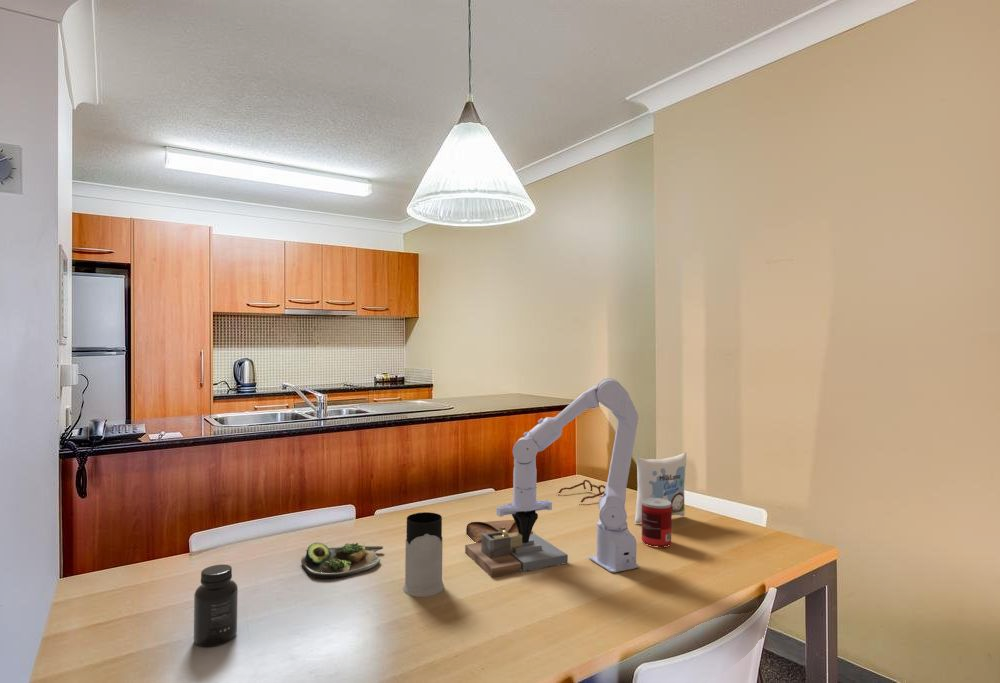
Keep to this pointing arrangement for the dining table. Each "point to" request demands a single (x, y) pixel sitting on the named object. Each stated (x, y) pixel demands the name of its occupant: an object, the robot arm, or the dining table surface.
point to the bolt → (512, 539)
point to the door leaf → (538, 554)
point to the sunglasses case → (489, 528)
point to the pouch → (661, 482)
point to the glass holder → (423, 555)
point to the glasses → (585, 488)
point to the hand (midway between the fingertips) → (524, 541)
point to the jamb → (494, 555)
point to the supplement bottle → (215, 607)
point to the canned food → (656, 521)
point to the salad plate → (338, 560)
